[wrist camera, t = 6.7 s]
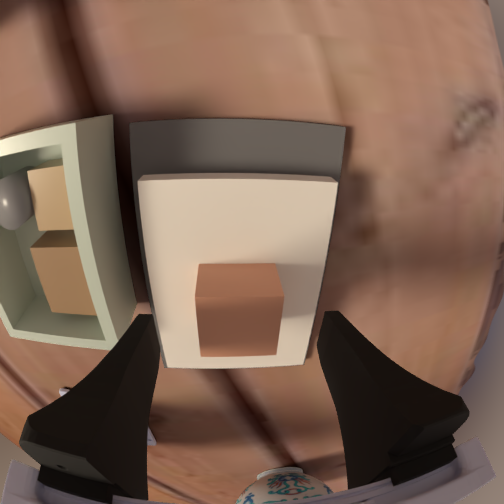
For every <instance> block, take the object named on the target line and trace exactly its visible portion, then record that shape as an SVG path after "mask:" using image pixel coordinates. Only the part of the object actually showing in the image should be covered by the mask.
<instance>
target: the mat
mask: <svg viewBox="0 0 504 504" xmlns="http://www.w3.org/2000/svg"><path fill="white" fill-rule="evenodd" d="M129 129H130V151H131V167H132V180H133V191H134V201H135V211H136V219H137V227H138V235H139V242H140V249H141V256H142V262H143V268H144V274H145V280H146V286H147V291H148V297H149V302H150V307H151V312H152V314H153V317H154V322H155V326H156V331H157V335H158V340H159V344H160V352H161V356H162V360H163V364H164V368H168V367H167V363H166V359H165V355H164V350H163V346H162V341H161V337H160V332H159V327H158V323H157V318H156V313H155V307H154V302H153V297H152V291H151V285H150V279H149V273H148V267H147V260H146V254H145V247H144V239H143V231H142V223H141V214H140V204H139V194H138V182H137V181H138V180H139V179H140V178H141V177H142V176H143V175H152V174H180V173H264V174H292V175H311V176H327V177H331V178H333V179H334V180H335V181H336V182H338V186H337V194H336V201H335V207H334V214H333V220H332V227H331V233H330V239H329V244H328V250H327V256H326V261H325V267H324V272H323V277H322V282H321V287H320V292H319V297H318V302H317V307H318V303H319V298H320V293H321V288H322V283H323V278H324V273H325V268H326V263H327V257H328V252H329V246H330V240H331V234H332V228H333V222H334V216H335V209H336V203H337V196H338V189H339V182H340V174H341V166H342V158H343V149H344V140H345V131H346V127H343V126H337V125H329V124H320V123H310V122H299V121H286V120H269V119H244V118H196V119H171V120H155V121H142V122H132V123H129ZM317 307H316V311H315V316H316V312H317ZM315 316H314V320H313V325H314V321H315ZM313 325H312V329H311V334H312V330H313ZM311 334H310V338H311ZM310 338H309V342H310ZM309 342H308V346H307V351H308V347H309ZM307 351H306V355H307ZM306 355H305V359H306ZM305 359H304V363H305ZM304 363H303V364H302V365H304ZM290 366H294V365H290ZM275 367H281V366H275ZM255 368H263V367H255ZM186 369H235V368H186Z"/></svg>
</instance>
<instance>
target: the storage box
mask: <svg viewBox="0 0 504 504" xmlns="http://www.w3.org/2000/svg"><path fill="white" fill-rule="evenodd" d="M136 305H137V301H136V297H135V292H134V287H133V283H132V278H131V272H130V267H129V262H128V256H127V250H126V244H125V238H124V232H123V225H122V218H121V210H120V202H119V194H118V185H117V174H116V162H115V149H114V130H113V114H112V115H105V116H98V117H91V118H85V119H79V120H74V121H68V122H63V123H58V124H53V125H49V126H44V127H40V128H35V129H31V130H27V131H23V132H20V133H16V134H12V135H9V136H5V137H2V138H0V317H1V319H2V321H3V323H4V325H5V327H6V329H7V331H8V333H9V335H10V336H11V337H16V338H21V339H27V340H33V341H39V342H45V343H52V344H59V345H67V346H75V347H83V348H93V349H103V350H111V349H112V348H113V347H114V346H115V344H116V343H117V342H118V341H119V339H120V338H121V337H122V336H123V334H124V333H125V332H126V330H127V329H128V328H129V326H130V323H131V320H132V317H133V314H134V311H135V308H136Z"/></svg>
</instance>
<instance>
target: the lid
mask: <svg viewBox="0 0 504 504" xmlns="http://www.w3.org/2000/svg"><path fill="white" fill-rule="evenodd" d="M137 182H138V194H139V204H140V214H141V223H142V231H143V239H144V247H145V254H146V260H147V267H148V273H149V279H150V285H151V291H152V297H153V302H154V307H155V313H156V318H157V323H158V327H159V332H160V337H161V341H162V346H163V350H164V355H165V359H166V363H167V367H168V368H255V367H275V366H290V365H302V364H303V363H304V359H305V355H306V351H307V346H308V342H309V338H310V334H311V329H312V325H313V320H314V316H315V311H316V307H317V302H318V297H319V292H320V287H321V282H322V277H323V272H324V267H325V261H326V256H327V250H328V244H329V239H330V233H331V227H332V220H333V214H334V207H335V201H336V194H337V186H338V182H336V181H335V180H334V179H333V178H331V177H327V176H311V175H292V174H264V173H180V174H152V175H143V176H142V177H141V178H140V179H139V180H138V181H137Z"/></svg>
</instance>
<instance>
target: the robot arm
mask: <svg viewBox="0 0 504 504" xmlns="http://www.w3.org/2000/svg"><path fill="white" fill-rule="evenodd" d="M317 349H318V354H319V359H320V363H321V367H322V370H323V373H324V376H325V378H326V381H327V384H328V387H329V390H330V393H331V395H332V398H333V401H334V404H335V407H336V411H337V415H338V419H339V424H340V429H341V434H342V440H343V446H344V453H345V460H346V469H347V481H348V490H345V491H341V492H336V493H332V494H327V495H322V496H316V497H311V498H305V499H298V500H291V501H283V502H274V503H263V504H455V503H457V502H458V501H460V500H462V499H463V498H465V497H467V496H468V495H470V494H472V493H473V492H475V491H476V490H478V489H479V488H481V487H482V486H484V485H485V484H487V483H488V482H490V481H491V480H493V479H494V478H495V477H496V475H495V472H494V470H493V468H492V466H491V464H490V461H489V459H488V457H487V455H486V453H485V451H484V449H483V447H482V445H481V443H480V440H479V438H478V437H477V436H476V437H473V438H472V439H470V440H468V441H466V442H464V443H462V444H460V445H458V446H457V447H455V448H453V445H452V443H453V442H454V441H455V439H454V437H453V435H452V434H453V433H454V432H455V431H456V430H457V429H458V428H459V427H460V426H461V425H462V424H463V423H464V422H465V421H466V420H467V418H468V417H469V410H468V408H467V406H466V405H465V403H464V401H463V399H462V398H461V397H460V396H458V395H455V394H453V393H450V392H447V391H444V390H442V389H440V388H438V387H435V386H433V385H431V384H429V383H427V382H425V381H423V380H421V379H420V378H418V377H416V376H415V375H413V374H411V373H410V372H408V371H406V370H405V369H403V368H402V367H401V366H399V365H398V364H396V363H395V362H394V361H392V360H391V359H390V358H388V357H387V356H386V355H385V354H383V353H382V352H381V351H380V350H379V349H377V348H376V347H375V346H374V345H373V344H372V343H371V342H370V341H369V340H367V339H366V338H365V337H364V336H363V335H362V334H361V333H360V332H359V331H358V330H357V329H356V328H355V327H354V326H353V325H352V324H351V323H350V322H349V321H348V320H347V319H346V318H345V317H344V316H343V315H342V314H341V313H340V312H339V311H325V313H324V318H323V322H322V326H321V330H320V334H319V338H318V341H317ZM159 359H160V344H159V340H158V335H157V331H156V326H155V322H154V317H153V314H139V315H138V316H137V317H136V318H135V320H134V321H133V322H132V324H131V325H130V326H129V328H128V329H127V330H126V332H125V333H124V334H123V336H122V337H121V338H120V339H119V341H118V342H117V343H116V344H115V346H114V347H113V348H112V349H111V351H110V352H109V353H108V354H107V355H106V356H105V357H104V359H103V360H102V361H101V362H100V363H99V364H98V365H97V366H96V367H95V368H94V369H93V370H92V371H91V372H90V373H89V374H88V375H87V376H86V377H85V378H84V379H83V380H82V381H80V382H79V383H78V384H77V385H76V386H74V387H73V388H72V389H71V390H69V389H64V388H61V389H60V391H59V393H60V395H61V397H60V398H58V399H57V400H55V401H54V402H52V403H51V404H49V405H47V406H46V407H44V408H42V409H40V410H38V411H37V412H35V413H33V414H31V415H29V416H28V418H27V420H26V423H25V425H24V428H23V431H22V434H21V437H20V441H19V444H20V446H21V448H22V449H23V450H24V451H25V452H26V453H27V454H28V455H30V456H31V457H32V458H33V459H34V460H36V461H37V462H38V463H39V464H40V465H41V467H40V471H39V470H37V469H35V468H33V467H31V466H28V465H26V464H24V463H21V462H19V461H16V460H14V459H12V460H11V463H10V467H9V470H8V474H7V478H6V482H5V486H4V491H3V495H2V500H1V504H174V503H163V502H154V501H147V500H148V485H147V445H156V440H155V438H154V436H153V434H152V432H151V430H150V428H149V427H148V421H149V413H150V408H151V403H152V398H153V393H154V388H155V384H156V379H157V374H158V369H159Z"/></svg>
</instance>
